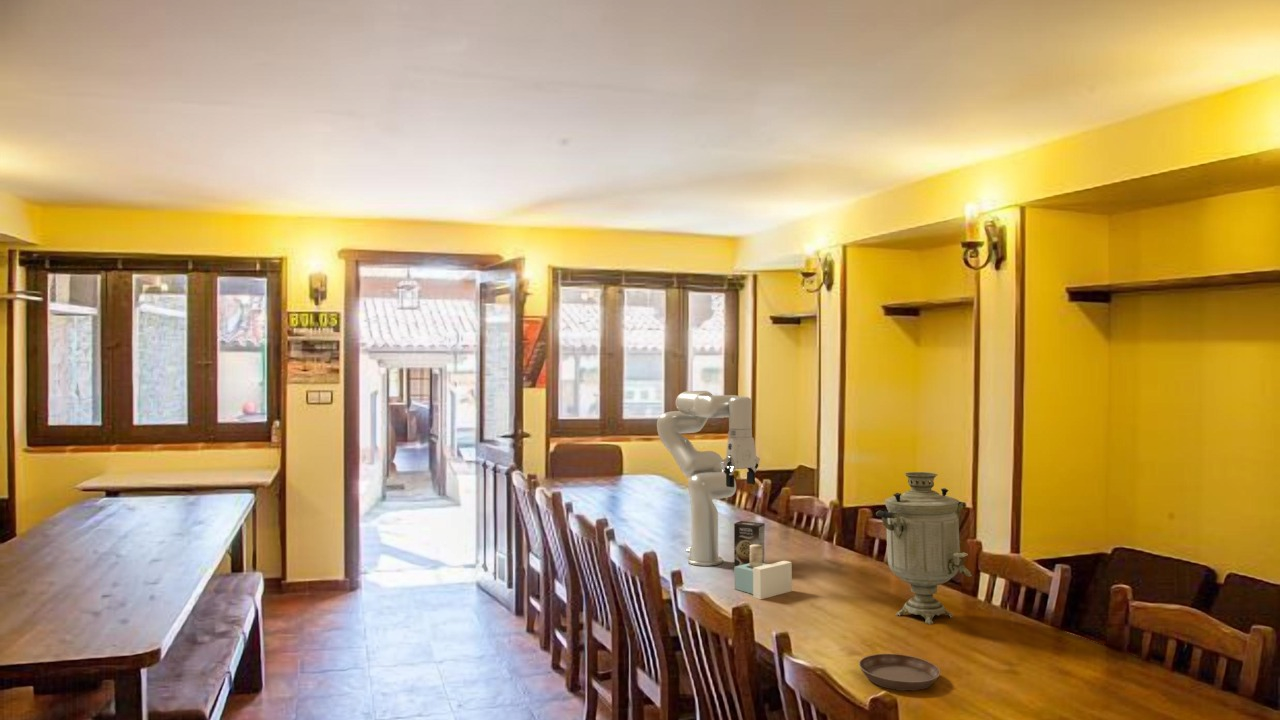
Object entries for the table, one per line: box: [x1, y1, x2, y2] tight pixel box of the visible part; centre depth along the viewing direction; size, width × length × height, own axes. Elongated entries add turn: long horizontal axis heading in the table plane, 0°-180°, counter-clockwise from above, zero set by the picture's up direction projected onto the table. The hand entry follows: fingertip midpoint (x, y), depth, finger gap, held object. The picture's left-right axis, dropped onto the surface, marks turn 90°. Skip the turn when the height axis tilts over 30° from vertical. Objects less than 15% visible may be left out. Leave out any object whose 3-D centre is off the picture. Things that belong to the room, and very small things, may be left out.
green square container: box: [734, 562, 768, 595], centre depth 272 cm, size 10×10×7 cm
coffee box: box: [733, 520, 766, 571], centre depth 297 cm, size 9×6×16 cm
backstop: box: [752, 560, 793, 600], centre depth 267 cm, size 3×14×9 cm, turn 129°
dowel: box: [750, 545, 763, 569], centre depth 272 cm, size 4×4×10 cm
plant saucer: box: [858, 653, 941, 691], centre depth 197 cm, size 18×18×3 cm
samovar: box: [875, 471, 972, 625], centre depth 241 cm, size 30×26×40 cm
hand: (740, 485), depth 288 cm, fingers open, 9 cm apart
